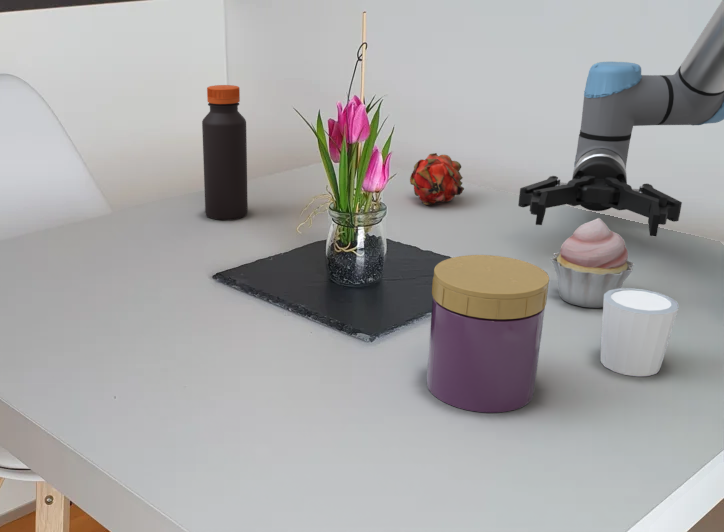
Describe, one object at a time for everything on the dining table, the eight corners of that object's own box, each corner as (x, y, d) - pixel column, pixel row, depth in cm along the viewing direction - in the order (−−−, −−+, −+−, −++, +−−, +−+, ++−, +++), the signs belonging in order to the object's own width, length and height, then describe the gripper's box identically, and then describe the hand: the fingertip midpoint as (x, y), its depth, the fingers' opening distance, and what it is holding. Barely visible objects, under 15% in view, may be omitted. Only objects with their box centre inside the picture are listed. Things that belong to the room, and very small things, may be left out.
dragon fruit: (440, 199, 147) (436, 229, 137) (402, 171, 146) (396, 199, 136) (472, 164, 143) (471, 192, 133) (433, 134, 142) (429, 160, 132)
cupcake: (639, 296, 101) (653, 216, 97) (612, 320, 94) (626, 236, 91) (563, 279, 107) (574, 203, 103) (533, 300, 100) (543, 220, 96)
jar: (537, 372, 83) (551, 267, 79) (528, 420, 74) (543, 306, 70) (436, 357, 86) (444, 255, 82) (417, 401, 77) (424, 291, 73)
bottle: (196, 215, 133) (191, 87, 126) (224, 206, 138) (220, 82, 131) (229, 223, 130) (225, 91, 122) (256, 213, 135) (254, 86, 127)
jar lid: (549, 285, 79) (552, 261, 78) (541, 326, 71) (545, 300, 70) (442, 272, 83) (444, 249, 82) (422, 310, 74) (424, 285, 73)
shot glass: (670, 358, 86) (683, 294, 83) (661, 385, 80) (674, 318, 77) (600, 343, 89) (610, 282, 86) (587, 369, 83) (597, 304, 81)
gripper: (687, 213, 121) (700, 259, 102) (509, 197, 129) (491, 237, 110) (697, 161, 118) (712, 200, 99) (514, 148, 126) (497, 182, 108)
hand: (596, 220), depth 105 cm, fingers open, 13 cm apart
